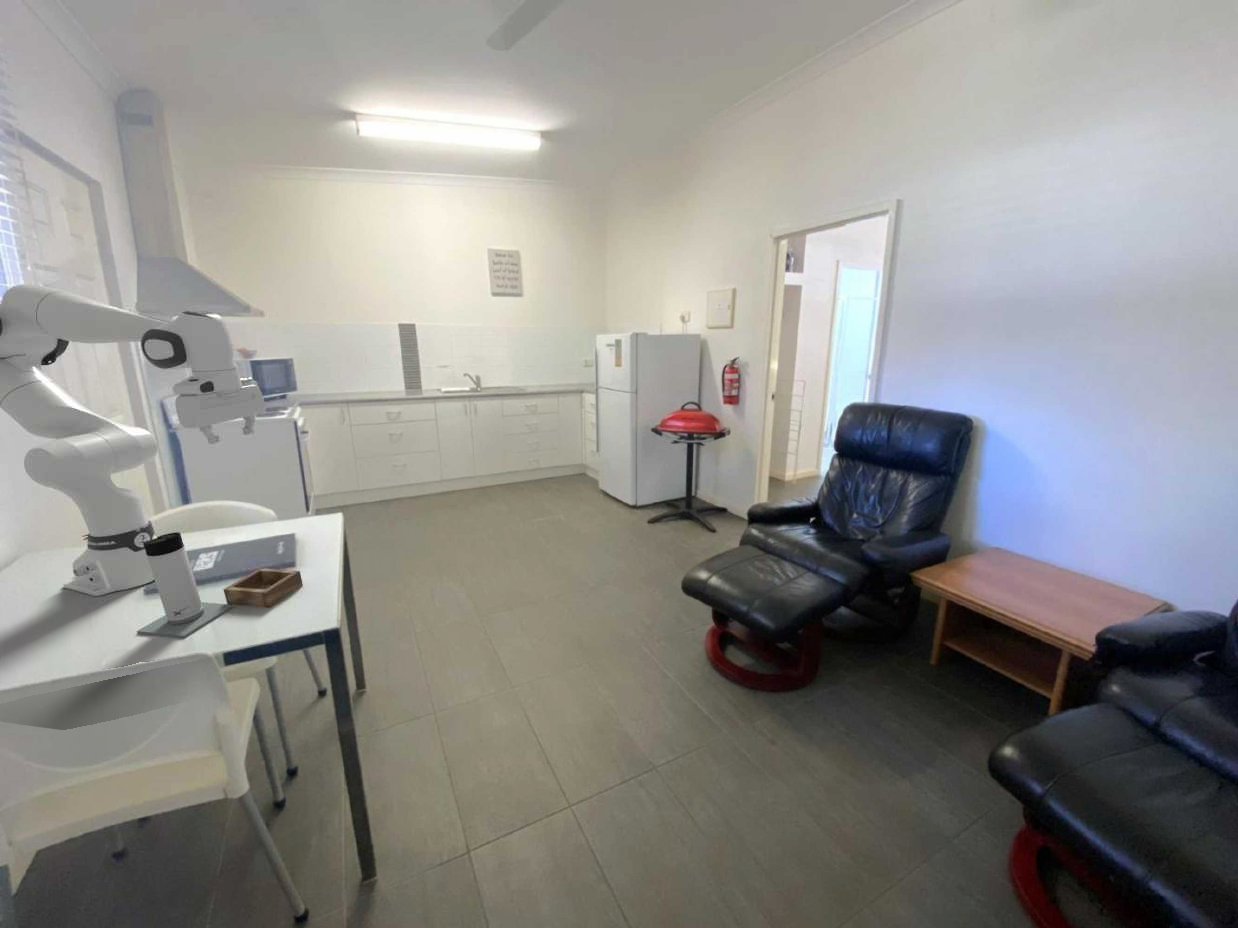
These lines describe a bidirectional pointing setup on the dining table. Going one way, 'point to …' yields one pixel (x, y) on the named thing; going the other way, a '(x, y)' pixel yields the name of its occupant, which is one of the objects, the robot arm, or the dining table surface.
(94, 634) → the dining table surface
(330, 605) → the dining table surface
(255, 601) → the walnut tray
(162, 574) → the travel mug
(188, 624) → the slate mat
